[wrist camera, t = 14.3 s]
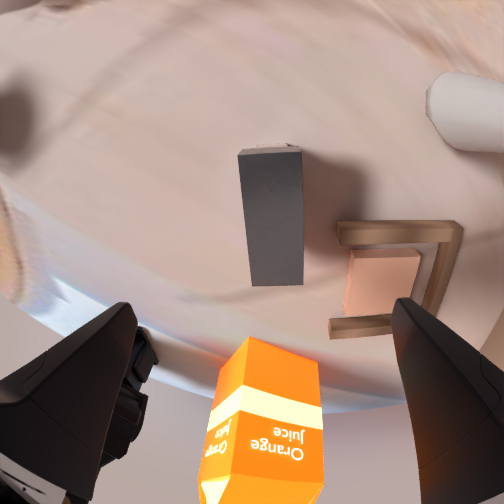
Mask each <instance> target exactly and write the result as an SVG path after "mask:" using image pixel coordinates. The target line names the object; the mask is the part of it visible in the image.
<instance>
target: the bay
mask: <svg viewBox="0 0 504 504" xmlns="http://www.w3.org/2000/svg"><path fill="white" fill-rule="evenodd" d="M462 232H463V228H462V227H461V226H460V225H458V224H457V223H456V222H455V221H439V220H378V221H338V224H337V237H338V239H339V242H340V244H341V245H365V244H397V243H430V242H439V247H438V251H437V255H436V259H435V263H434V266H433V270H432V273H431V277H430V280H429V284H428V287H427V290H426V293H425V296H424V299H423V302H422V305H421V307H423V308H424V309H425V310H427V311H428V312H429V313H431V314H432V315H433V316H434V317H436V314H437V312H438V309H439V306H440V304H441V301H442V299H443V296H444V293H445V290H446V287H447V285H448V282H449V279H450V275H451V272H452V269H453V266H454V263H455V259H456V256H457V252H458V248H459V244H460V240H461V236H462ZM390 320H391V314H386V315H376V316H364V317H352V318H337V319H329V325H328V330H329V336H330V340H331V339H345V338H357V337H367V336H377V335H386V334H393V333H392V328H391V322H390Z"/></svg>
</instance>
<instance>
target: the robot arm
mask: <svg viewBox="0 0 504 504" xmlns="http://www.w3.org/2000/svg"><path fill="white" fill-rule="evenodd" d="M390 322H391V328H392V333H393V339H394V345H395V351H396V357H397V362H398V366H399V370H400V374H401V378H402V382H403V386H404V391H405V395H406V399H407V404H408V408H409V413H410V418H411V423H412V428H413V434H414V440H415V447H416V453H417V461H418V469H419V480H420V490H421V504H504V372H503V371H502V370H501V369H499V368H498V367H497V366H496V365H494V364H493V363H492V362H491V361H489V360H488V359H487V358H486V357H485V356H483V355H482V354H480V352H479V351H477V350H476V349H475V348H474V347H473V346H471V345H470V344H469V343H468V342H466V341H465V340H464V339H463V338H461V337H460V336H459V335H458V334H456V333H455V332H454V331H453V330H451V329H450V328H449V327H447V326H446V325H445V324H444V323H442V322H441V321H440V320H438V319H437V318H436V317H434V316H433V315H432V314H431V313H429V312H428V311H427V310H425V309H424V308H423V307H421V306H420V305H418V304H417V303H416V302H414V301H413V300H412V299H410V298H409V297H402V298H397V299H396V301H395V304H394V308H393V311H392V314H391V320H390ZM137 325H138V321H137V318H136V316H135V313H134V311H133V309H132V307H131V305H130V304H129V303H128V302H118V303H116V304H115V305H113V306H112V307H110V308H109V309H107V310H106V311H104V312H103V313H101V314H100V315H98V316H97V317H95V318H94V319H92V320H91V321H89V322H88V323H86V324H85V325H83V326H82V327H80V328H79V329H77V330H76V331H74V332H73V333H72V334H70V335H69V336H67V337H66V338H64V339H63V340H61V341H60V342H58V343H57V344H56V345H54V346H53V347H51V348H50V349H48V351H45V352H44V353H43V354H41V355H40V356H38V357H37V358H35V359H34V360H32V361H31V362H29V363H28V364H26V365H25V366H23V367H21V368H20V369H18V370H16V371H15V372H13V373H11V374H10V375H8V376H7V377H5V378H3V379H2V380H0V504H88V502H89V500H90V501H91V500H92V497H93V492H94V487H95V482H96V479H97V477H98V474H99V471H100V469H101V467H103V466H105V465H106V464H108V463H110V462H111V461H113V460H115V459H116V458H117V459H120V458H122V457H123V456H124V455H126V453H127V450H128V447H129V444H130V442H133V441H134V440H135V439H136V438H137V436H138V434H139V432H140V430H141V428H142V425H143V421H144V415H145V410H146V406H147V401H148V396H147V395H145V394H142V393H141V392H139V390H140V388H141V385H142V383H145V382H146V381H147V379H148V376H149V374H150V371H151V369H152V366H153V365H158V362H159V361H158V359H157V357H156V355H155V353H154V351H153V349H152V347H151V345H150V343H149V341H148V339H147V337H146V335H145V333H144V331H143V329H142V328H140V327H137Z"/></svg>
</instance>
